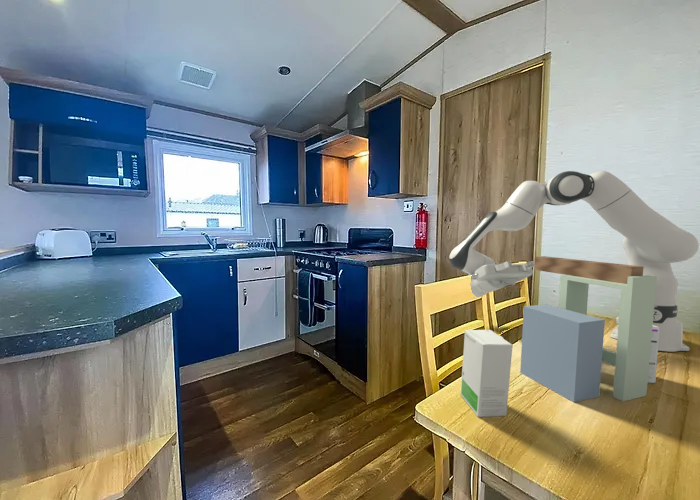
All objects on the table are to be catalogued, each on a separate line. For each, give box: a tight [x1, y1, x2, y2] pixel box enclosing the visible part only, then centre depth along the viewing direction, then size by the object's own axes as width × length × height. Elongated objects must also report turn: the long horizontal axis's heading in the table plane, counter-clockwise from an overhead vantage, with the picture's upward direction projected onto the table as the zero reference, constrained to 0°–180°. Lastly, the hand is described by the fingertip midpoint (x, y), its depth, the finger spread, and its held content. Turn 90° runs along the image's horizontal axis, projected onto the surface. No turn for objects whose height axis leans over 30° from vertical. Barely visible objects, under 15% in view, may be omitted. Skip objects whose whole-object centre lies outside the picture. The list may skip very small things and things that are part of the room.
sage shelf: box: [557, 274, 657, 402], centre depth 74 cm, size 16×8×28 cm, turn 17°
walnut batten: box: [533, 255, 643, 284], centre depth 78 cm, size 24×4×4 cm, turn 17°
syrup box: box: [647, 325, 659, 384], centre depth 76 cm, size 6×6×14 cm
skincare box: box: [460, 329, 514, 418], centre depth 63 cm, size 8×7×16 cm
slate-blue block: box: [519, 303, 606, 403], centre depth 73 cm, size 14×8×18 cm, turn 17°
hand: (521, 263), depth 95 cm, fingers open, 8 cm apart
